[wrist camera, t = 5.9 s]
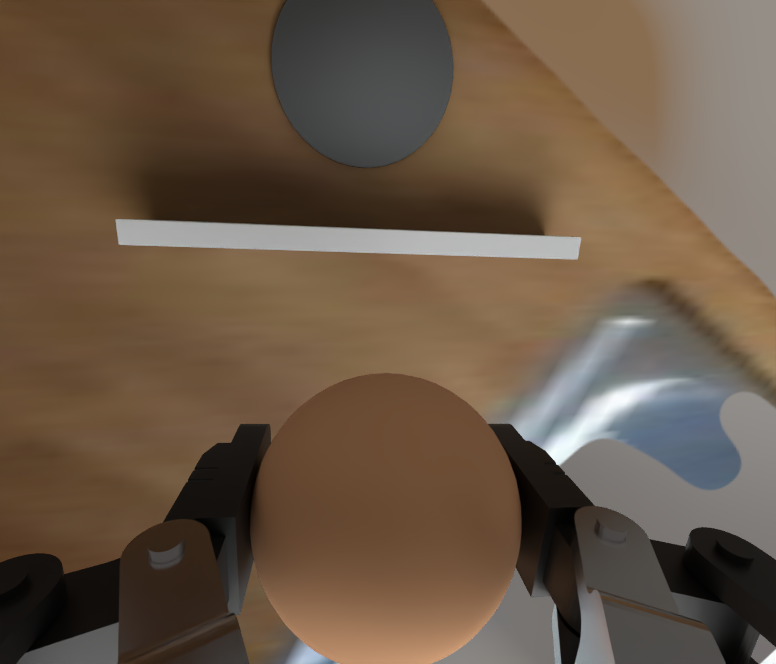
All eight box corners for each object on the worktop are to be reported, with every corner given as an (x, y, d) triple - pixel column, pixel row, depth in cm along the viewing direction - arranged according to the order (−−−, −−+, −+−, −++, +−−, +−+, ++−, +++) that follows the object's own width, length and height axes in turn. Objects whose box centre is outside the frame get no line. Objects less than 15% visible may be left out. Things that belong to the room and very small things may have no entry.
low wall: (155, 241, 23) (119, 244, 19) (153, 219, 23) (115, 219, 19) (542, 253, 26) (577, 259, 22) (545, 235, 26) (581, 237, 22)
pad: (361, 204, 24) (361, 204, 24) (232, 59, 21) (231, 57, 21) (486, 82, 23) (488, 80, 23) (367, -87, 20) (368, -91, 20)
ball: (367, 549, 13) (391, 802, 7) (229, 436, 11) (122, 651, 6) (506, 434, 13) (647, 611, 7) (382, 299, 11) (431, 384, 5)
